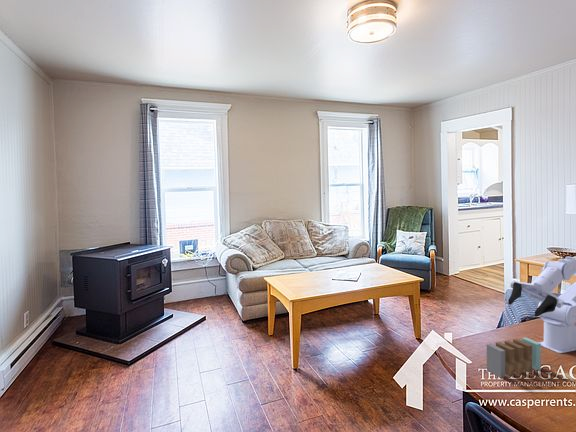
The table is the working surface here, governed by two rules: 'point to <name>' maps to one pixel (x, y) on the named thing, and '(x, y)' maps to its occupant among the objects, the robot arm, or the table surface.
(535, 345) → the teal domino
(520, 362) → the domino
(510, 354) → the domino
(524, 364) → the domino
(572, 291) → the robot arm
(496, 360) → the charcoal domino
